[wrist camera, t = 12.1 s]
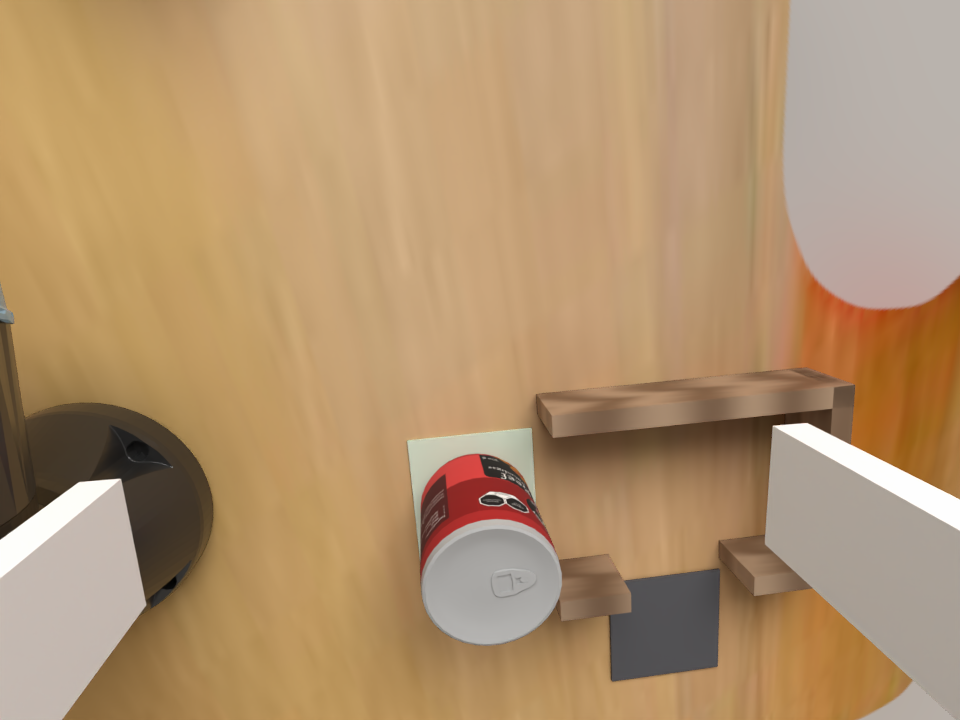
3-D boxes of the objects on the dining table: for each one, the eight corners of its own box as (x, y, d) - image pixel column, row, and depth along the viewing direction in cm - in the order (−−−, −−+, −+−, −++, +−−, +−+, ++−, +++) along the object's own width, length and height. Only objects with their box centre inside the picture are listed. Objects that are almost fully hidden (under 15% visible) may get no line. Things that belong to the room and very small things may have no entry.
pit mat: (611, 679, 48) (612, 681, 48) (609, 582, 46) (609, 584, 46) (716, 664, 48) (717, 666, 48) (718, 568, 46) (719, 570, 46)
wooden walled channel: (546, 579, 45) (561, 621, 40) (536, 394, 42) (551, 415, 37) (796, 547, 47) (839, 584, 42) (806, 367, 43) (855, 384, 38)
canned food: (543, 517, 44) (583, 610, 33) (447, 562, 44) (456, 670, 33) (502, 431, 42) (531, 500, 31) (402, 478, 42) (396, 563, 31)
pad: (420, 565, 44) (420, 566, 44) (407, 440, 41) (407, 440, 41) (538, 551, 44) (538, 552, 44) (531, 427, 42) (531, 428, 42)
